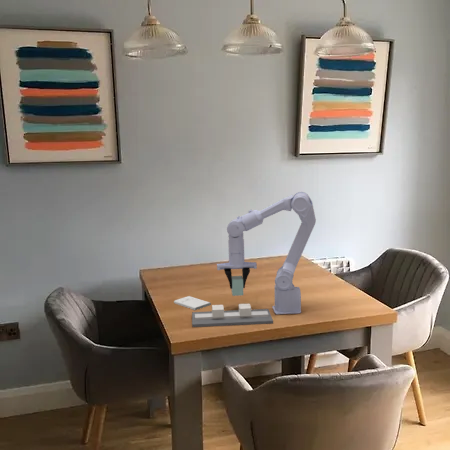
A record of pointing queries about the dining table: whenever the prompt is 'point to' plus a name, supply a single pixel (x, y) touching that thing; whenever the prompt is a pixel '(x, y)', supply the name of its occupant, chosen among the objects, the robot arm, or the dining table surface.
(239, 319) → the rail board
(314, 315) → the dining table surface
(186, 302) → the external hard drive
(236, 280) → the block
